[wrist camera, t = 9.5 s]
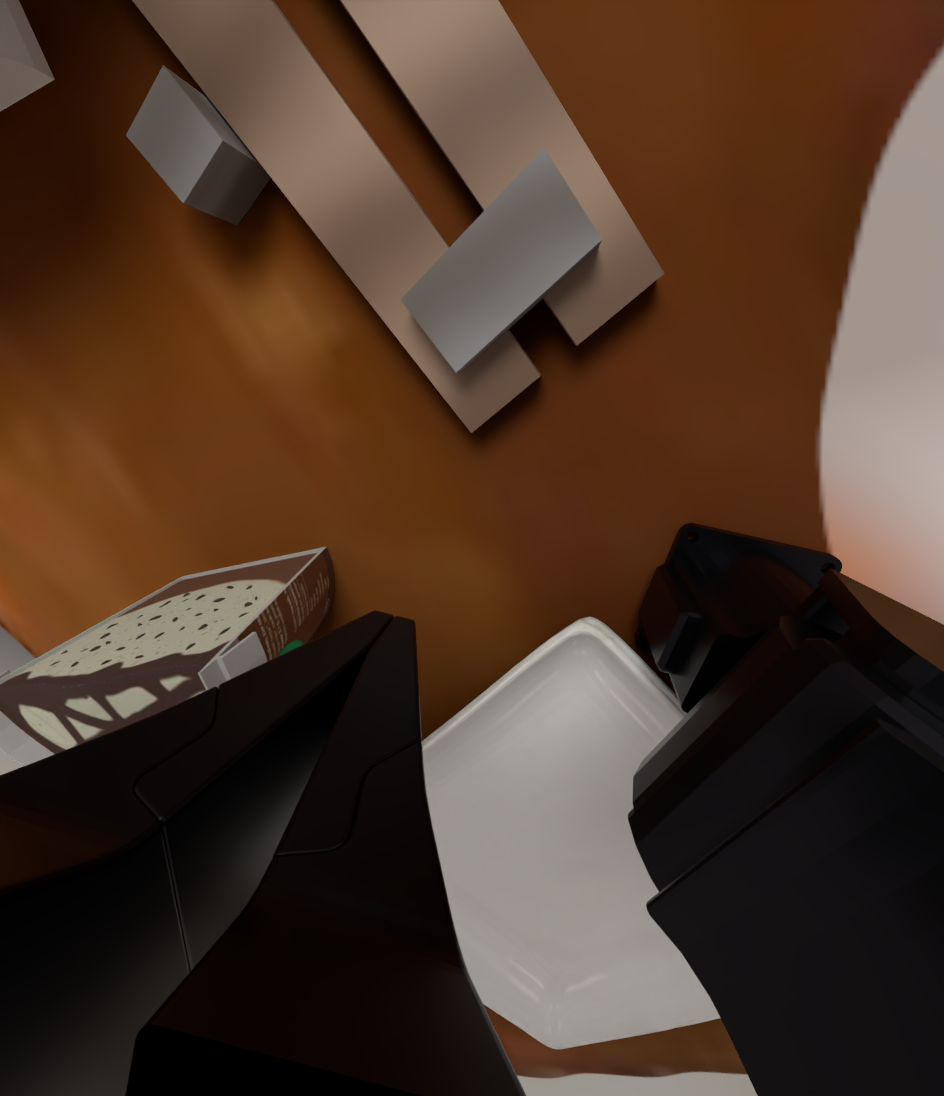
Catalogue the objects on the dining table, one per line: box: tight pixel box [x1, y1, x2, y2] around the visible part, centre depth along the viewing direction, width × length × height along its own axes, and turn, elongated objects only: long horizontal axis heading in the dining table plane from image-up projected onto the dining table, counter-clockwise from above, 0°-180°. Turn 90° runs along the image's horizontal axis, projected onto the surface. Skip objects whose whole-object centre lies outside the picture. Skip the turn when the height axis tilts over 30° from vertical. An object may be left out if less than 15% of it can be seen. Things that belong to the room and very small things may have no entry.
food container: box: [0, 547, 335, 766], centre depth 20 cm, size 12×6×10 cm, turn 106°
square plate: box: [422, 617, 720, 1049], centre depth 27 cm, size 27×27×4 cm
